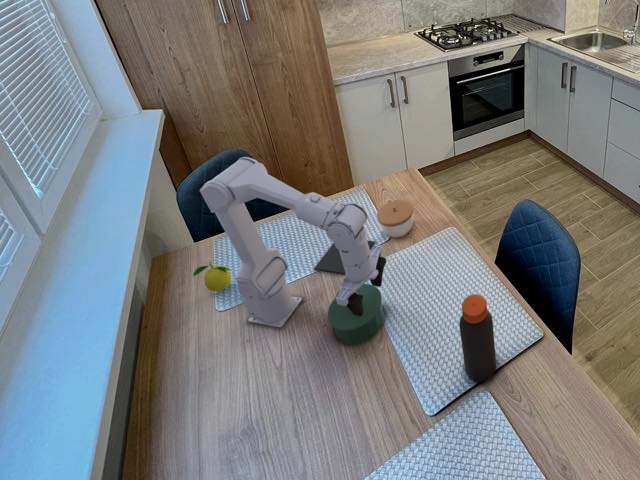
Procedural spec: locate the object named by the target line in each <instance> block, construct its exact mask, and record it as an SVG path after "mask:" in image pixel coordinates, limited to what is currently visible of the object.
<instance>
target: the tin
mask: <svg viewBox="0 0 640 480" xmlns="http://www.w3.org/2000/svg"><path fill="white" fill-rule="evenodd" d="M383 321H384V307H383V304H382V303H381V307H380V309H379V311H378V313H377V314H376V316H375V317H374V318H373V319H372V320H371V321H370V322H368V323H367V324H366V325H364V326H362V327H360V328H358V329H355V330H351V331H340V330H337V329H335V328H333V331H334V334H335V336H336V338H337V340H338V341H340V342H341V343H343V344H347V345H355V344H356V345H357V344H360V343H363V342H365V341H367V340H368V339H370V338H371V337H373V336H374V335H375V334H376V333H377V332H378V331H379V329H380V328H381V326H382V324H383Z"/></svg>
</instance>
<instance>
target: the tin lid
mask: <svg viewBox="0 0 640 480" xmlns="http://www.w3.org/2000/svg"><path fill="white" fill-rule="evenodd" d="M355 293H357V294H359V295H363V299H362V307H363V315H362V316H357V315H354V314H353V313H352V312H351V310H350V309H349V308H348V307H347V306H342V305H338V304H337V301H336V297H334V299H333V300H332V301H331V303H330V305H329V307H328V310H327V322H328V323H329V325H330V326H331V327H332V328H333V329H334V328H335V329H337V330H340V331H351V330H355V329H358V328H360V327H362V326H364V325H366V324H367V323H368V322H370V321H371V320H372V319H373V318H374V317H375V316H376V314H377V313H378V311H379V309H380V307H381V304H382V302H383V297H382V293H381V291H380V290H379V288H378V287H377V286H373V285H372V284H371V283H365V284H364V285H362V286H361V287H360V288H359V289H358V290H356V291H355Z"/></svg>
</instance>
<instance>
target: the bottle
mask: <svg viewBox="0 0 640 480" xmlns="http://www.w3.org/2000/svg"><path fill="white" fill-rule="evenodd" d="M461 312H462V314H461V316H460V318H459V323H458V324H459V335H460V342H461V349H462V358H463V363H464V371H465V373H466V376H467V377H468V378H469V379H470V380H471V381H473V382H475V383H484V382H486V381H488V380H490V379H491V377H493V375H494V374H495V372H496V368H497V360H496V359H497V357H496V345H495V333H494V331H495V330H494V322H493V321H494V320H493V315H492V314H491V312H490V311H489V310H488V304H487V300H486V298H485V297H484V296H483V295H481V294H478V293H473V294H470V295H468V296H466V297H465V298H464V299H463V301H462V304H461ZM468 375H469V376H468Z"/></svg>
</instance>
